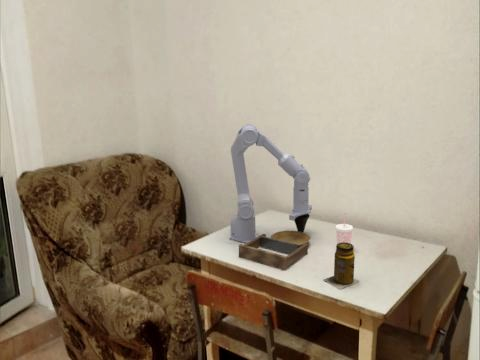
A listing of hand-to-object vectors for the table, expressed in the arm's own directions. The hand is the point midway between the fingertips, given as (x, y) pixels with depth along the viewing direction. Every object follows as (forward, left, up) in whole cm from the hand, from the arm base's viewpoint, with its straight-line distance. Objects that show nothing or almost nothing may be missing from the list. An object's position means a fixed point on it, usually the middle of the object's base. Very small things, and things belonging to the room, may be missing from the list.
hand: (300, 232), depth 177 cm
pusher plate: (0, -17, -2) cm, 17 cm away
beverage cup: (+19, -3, -2) cm, 19 cm away
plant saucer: (0, -8, -2) cm, 8 cm away
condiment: (+28, -25, -2) cm, 37 cm away
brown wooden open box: (0, -20, -2) cm, 20 cm away
